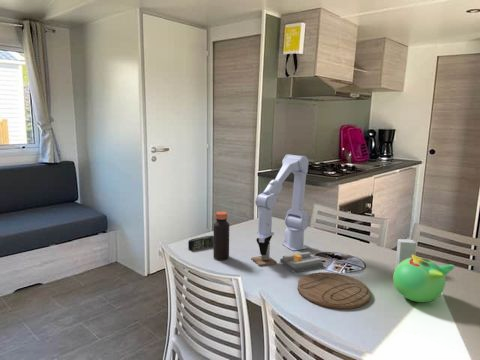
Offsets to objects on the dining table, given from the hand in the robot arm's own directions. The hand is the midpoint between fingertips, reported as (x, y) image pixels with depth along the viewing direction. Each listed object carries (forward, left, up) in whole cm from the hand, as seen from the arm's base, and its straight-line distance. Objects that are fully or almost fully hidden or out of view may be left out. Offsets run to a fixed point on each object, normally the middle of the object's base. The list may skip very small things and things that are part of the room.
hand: (263, 253), depth 155 cm
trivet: (+33, +10, -4) cm, 35 cm away
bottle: (-11, -15, -4) cm, 19 cm away
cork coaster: (0, 0, -4) cm, 4 cm away
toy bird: (+49, +34, -4) cm, 60 cm away
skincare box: (+29, +50, -4) cm, 58 cm away
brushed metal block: (0, +1, -2) cm, 3 cm away
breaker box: (+9, +13, -4) cm, 16 cm away
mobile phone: (-26, -18, -4) cm, 32 cm away
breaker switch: (+9, +11, -2) cm, 15 cm away
